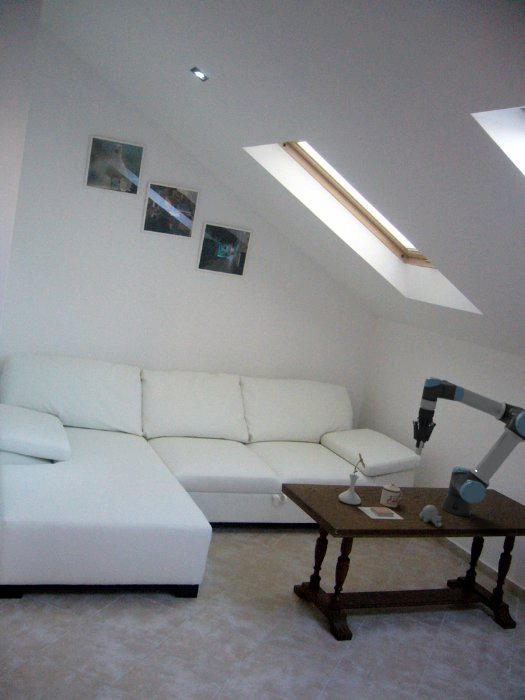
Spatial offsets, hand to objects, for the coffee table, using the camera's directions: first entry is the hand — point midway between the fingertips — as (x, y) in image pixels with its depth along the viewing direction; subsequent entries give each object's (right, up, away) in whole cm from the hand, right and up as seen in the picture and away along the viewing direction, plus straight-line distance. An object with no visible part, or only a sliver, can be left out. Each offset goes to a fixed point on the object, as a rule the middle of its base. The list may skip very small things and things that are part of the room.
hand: (418, 454), depth 343 cm
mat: (-20, -28, -9) cm, 36 cm away
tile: (-15, -27, -8) cm, 32 cm away
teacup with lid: (-12, -27, +8) cm, 31 cm away
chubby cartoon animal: (+4, -32, -11) cm, 34 cm away
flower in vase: (-34, -24, +1) cm, 42 cm away
